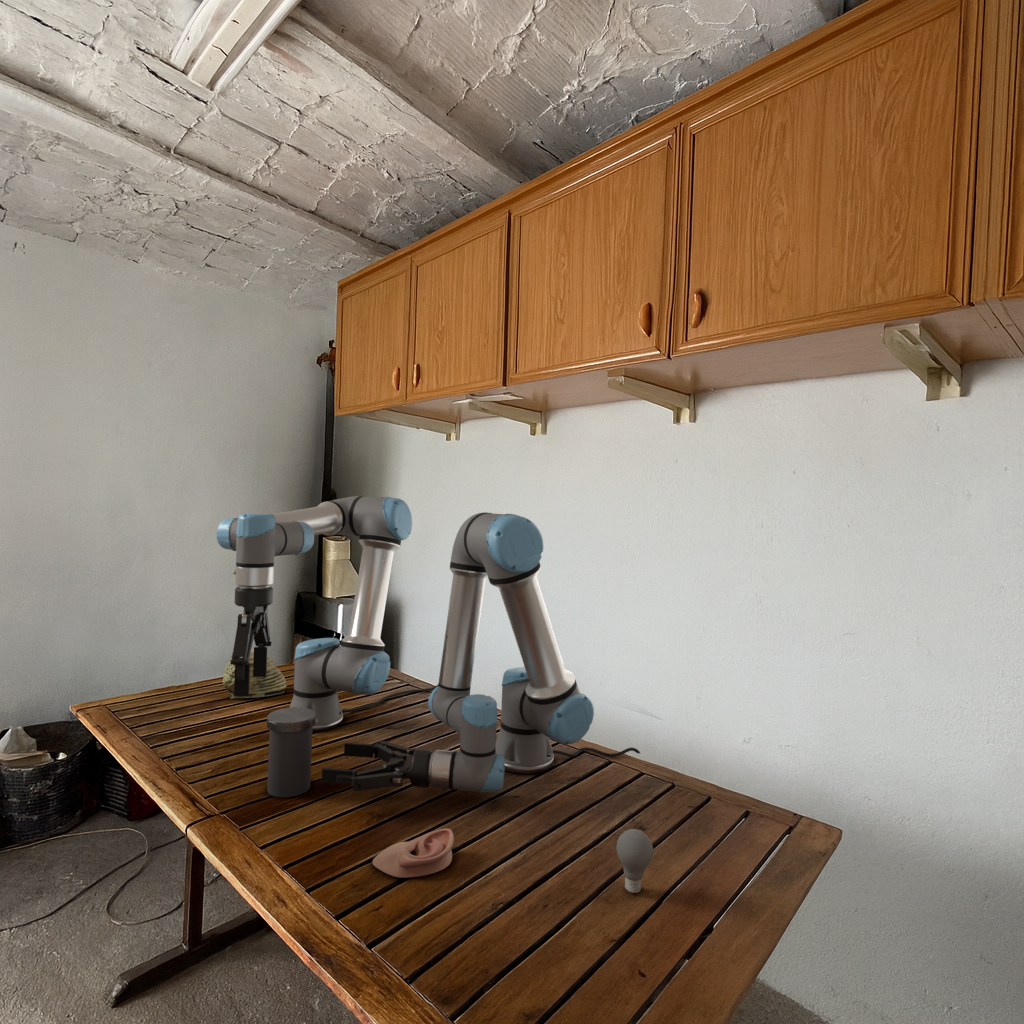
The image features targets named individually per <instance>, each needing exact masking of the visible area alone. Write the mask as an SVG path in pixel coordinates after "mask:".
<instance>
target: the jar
mask: <svg viewBox="0 0 1024 1024" xmlns="http://www.w3.org/2000/svg"><path fill="white" fill-rule="evenodd" d="M312 728H313V727H311V728H309V729H306V730H303V731H298V732H290V733H283V732H275V731H272V730H270V729H268V730H269V731H268V732H269V735H268V756H267V757H268V760H267V761H268V763H267V788H266V791H267V793H268V794H269V795H270V796H273V797H276V798H293V797H297V796H300V795H303V794H305V793H306V792H308V791H309V790H310V788H311V779H312V778H311V777H312V776H311V774H312V755H313V754H312V751H313V732H312Z"/></svg>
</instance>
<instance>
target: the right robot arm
mask: <svg viewBox="0 0 1024 1024" xmlns="http://www.w3.org/2000/svg"><path fill="white" fill-rule="evenodd" d="M543 552H544V539H543V535H542V533H541V531H540V529H539V528H538V526H537V525H536V524H535V523H534V522H533V521H532V520H530V519H528V518H526V517H524V516H522V515H518V514H513V513H493V512H479V513H475V514H473V515H471V516H469V517H468V518H467V519H465V521H464V522H463V523H462V524H461V526H460V527H459V529H458V531H457V533H456V536H455V539H454V542H453V546H452V551H451V556H450V564H449V570H450V572H451V573H452V579H451V580H452V581H451V588H450V595H449V596H450V597H449V601H448V602H449V603H448V608H447V609H448V610H447V618H446V626H445V631H444V632H445V633H444V640H443V647H442V653H441V660H440V668H439V669H440V670H439V676H438V682H437V685H438V687H436V688H435V689H434V690H431V693H430V695H429V696H428V700H427V704H428V709H429V711H430V713H431V714H432V715H433V716H434V717H435V718H436V720H438V721H439V722H441V723H443V724H445V725H447V726H448V727H449V728H451V730H453V731H455V733H457V734H458V735H459V736H460V738H459V739H460V740H459V742H460V743H459V751H456V750H447V749H446V750H445V749H444V750H443V749H435V751H433V750H432V749H427V748H410V747H405V746H402V745H399V744H396V743H392V742H390V741H387V740H379V743H378V742H377V743H374V744H372V743H371V744H370V743H369V744H368V743H357V742H345V743H344V745H343V746H344V747H343V748H344V749H343V756H344V757H357V758H370V759H374V760H375V759H379V760H382V761H384V762H385V763H383V765H382V766H378V767H373V768H369V769H365V770H361V771H357V769H356V768H353V769H345V768H334V767H333V768H332V767H323V768H322V769H321V783H324V784H325V783H326V784H335V785H336V784H337V785H349V786H350V785H351V786H352V791H353V792H361V791H368V790H375V789H384V788H389V787H390V788H392V787H393V788H401V787H403V780H409V781H410V785H411V787H413V788H414V787H415V788H426V789H427V788H429V787H431V788H432V789H442V791H447V790H457V791H469V792H479V793H498V792H500V791H502V789H503V787H504V781H505V772H509V773H513V774H522V775H529V774H533V775H534V774H539V773H542V772H546V771H548V770H550V769H551V768H552V767H553V766H554V762H555V761H554V759H555V755H554V754H558V755H562V756H565V757H568V758H575V757H577V756H578V755H579V754H580V753H582V752H585V751H587V752H588V751H589V752H593V753H595V754H599V755H601V756H605V757H609V758H614V757H615V758H616V757H620V756H622V755H624V754H626V753H629V752H635V753H636V754H641V751H640V750H639V749H638V748H636V747H628V748H625V749H623V750H621V751H619V752H614V753H612V752H611V753H610V752H604V751H602V750H600V749H597V748H593V747H589V746H587V747H580V748H578V749H577V751H576V752H574V753H568V752H565V751H562V750H557V749H553V748H552V744H551V741H553V742H557V743H559V744H561V745H572V744H575V743H577V742H579V741H580V740H581V739H582V738H584V736H586V734H587V733H588V732H589V730H590V728H591V725H592V723H593V721H594V716H595V711H594V710H595V709H594V708H595V707H594V704H593V702H592V700H591V698H589V697H588V696H587V695H586V694H585V693H581V692H580V690H579V689H580V688H579V686H578V683H577V679H576V676H575V675H574V673H573V672H571V671H570V670H568V669H566V667H565V663H564V661H563V657H562V654H561V650H560V647H559V644H558V641H557V638H556V634H555V631H554V627H553V624H552V622H551V621H552V620H551V619H550V615H549V612H548V609H547V605H546V602H545V599H544V596H543V592H542V589H541V586H540V583H539V579H538V575H539V572H540V571H541V569H542V565H541V563H540V561H541V559H542V554H543ZM487 578H488V581H489V584H490V585H491V586H494V587H496V588H498V590H499V592H500V596H501V599H502V602H503V605H504V608H505V611H506V614H507V617H508V620H509V624H510V626H511V629H512V633H513V636H514V639H515V643H516V646H517V648H518V651H519V654H520V658H521V660H522V663H523V666H516V667H511V668H508V669H507V670H505V671H504V673H503V676H502V681H501V710H500V729H499V732H498V735H497V730H498V729H497V728H498V720H499V719H498V718H499V717H498V703H497V700H496V698H494V697H492V696H491V695H486V694H481V693H475V694H471V687H472V680H473V673H474V666H475V659H476V652H477V644H478V636H479V629H480V623H481V616H482V609H483V603H484V602H483V601H484V595H485V593H484V592H485V587H486V580H487Z"/></svg>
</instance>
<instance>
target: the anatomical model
mask: <svg viewBox="0 0 1024 1024" xmlns="http://www.w3.org/2000/svg"><path fill="white" fill-rule="evenodd" d="M454 837H455V835H454V832H453V830H452V829H451V828H440V829H437V830H434V831H430V832H427V833H425V834H423V835H420V836H418V837H416V838H414V839H412V840H411V839H410V840H409V841H400V842H397V843H394V844H392V845H390V846H387V847H386V848H385V849H383V850H382V851H380V852H379V853H377V855H376V856H375V857H374V858H373V859H372V865H373V866H374V867H375V868H376V869H378V870H379V871H381V872H382V873H385V874H386V875H389V876H391V877H394V878H399V879H401V878H402V879H405V878H414V877H415V878H416V877H423V876H427V875H431V874H436V873H438V872H440V871H443V870H444V869H446V868H447V867H448V866H450V865H451V863H452V861H453V851H452V849H453V846H454V840H455V839H454Z"/></svg>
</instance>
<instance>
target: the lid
mask: <svg viewBox="0 0 1024 1024" xmlns="http://www.w3.org/2000/svg"><path fill="white" fill-rule="evenodd" d="M315 723H316V715H315V712H314V711H313V710H311V709H308V708H300V707H293V708H289V707H285V708H280V709H275V710H273V711H271V712H270V713H268V714H267V718H266V728H267V729H268V730H272V731H275V732H283V733H290V732H298V731H303V730H306V729H309V728H311V727H313V726H314V725H315Z"/></svg>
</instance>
